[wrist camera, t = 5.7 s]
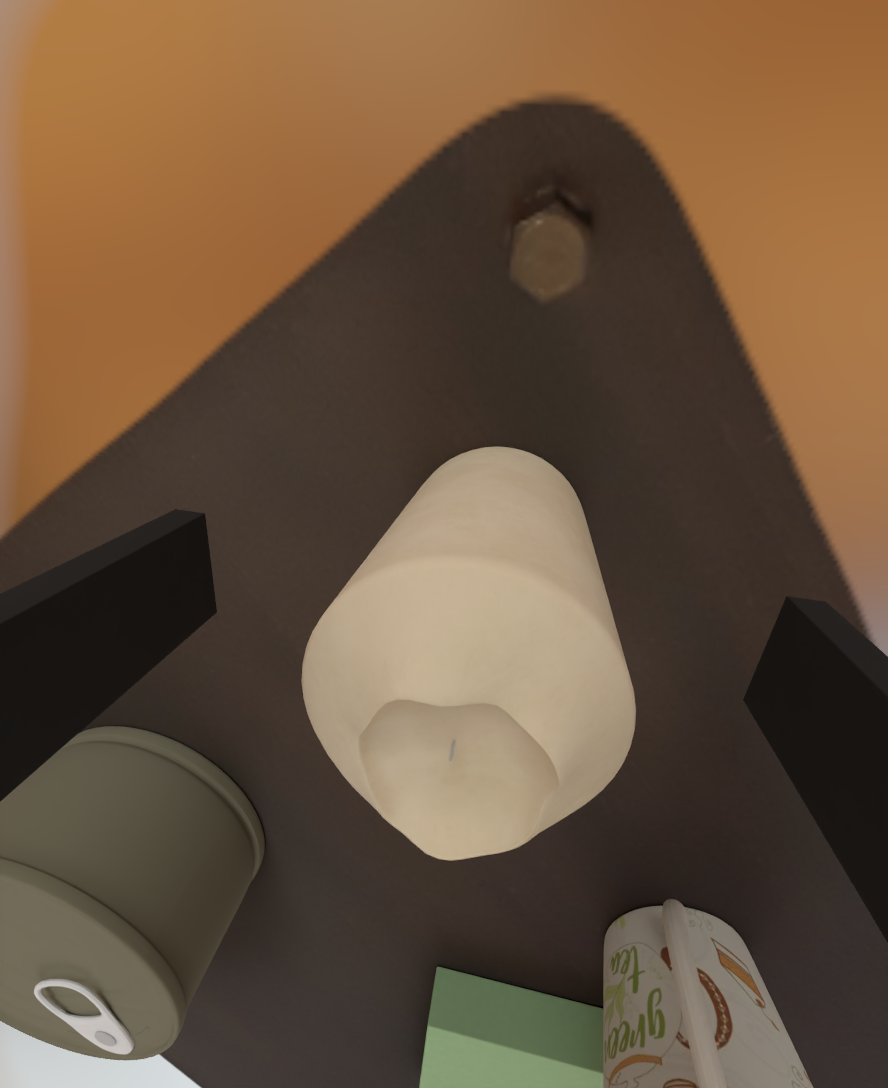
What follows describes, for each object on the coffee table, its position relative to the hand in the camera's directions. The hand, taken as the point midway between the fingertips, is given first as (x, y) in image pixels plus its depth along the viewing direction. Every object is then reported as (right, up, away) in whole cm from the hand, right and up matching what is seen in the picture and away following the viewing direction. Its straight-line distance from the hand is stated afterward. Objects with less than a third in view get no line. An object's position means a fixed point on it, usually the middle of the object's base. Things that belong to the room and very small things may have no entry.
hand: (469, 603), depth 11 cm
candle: (+1, +2, +5) cm, 5 cm away
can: (-15, -12, +14) cm, 24 cm away
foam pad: (+4, -27, +16) cm, 32 cm away
